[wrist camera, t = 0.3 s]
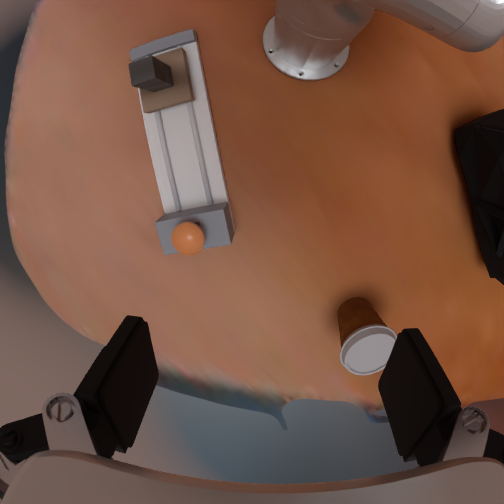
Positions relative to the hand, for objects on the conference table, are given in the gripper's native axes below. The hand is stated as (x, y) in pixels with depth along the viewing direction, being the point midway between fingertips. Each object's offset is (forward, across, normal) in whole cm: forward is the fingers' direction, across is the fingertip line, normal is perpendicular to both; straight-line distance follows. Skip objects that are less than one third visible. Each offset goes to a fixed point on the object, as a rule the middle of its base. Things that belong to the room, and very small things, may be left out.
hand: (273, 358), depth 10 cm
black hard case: (+36, -39, -2) cm, 53 cm away
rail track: (+36, +13, -7) cm, 39 cm away
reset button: (+29, +10, +6) cm, 32 cm away
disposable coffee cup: (+36, -17, +22) cm, 45 cm away
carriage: (+33, +15, -16) cm, 39 cm away
